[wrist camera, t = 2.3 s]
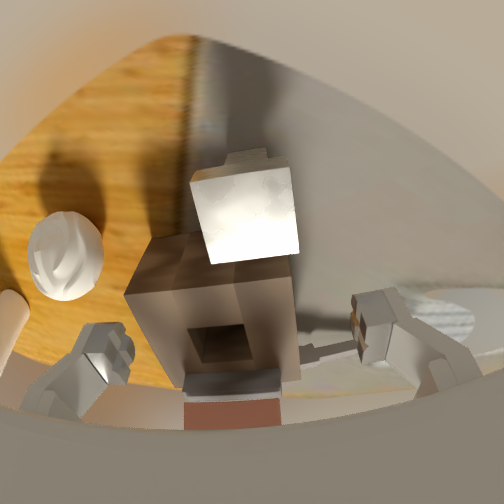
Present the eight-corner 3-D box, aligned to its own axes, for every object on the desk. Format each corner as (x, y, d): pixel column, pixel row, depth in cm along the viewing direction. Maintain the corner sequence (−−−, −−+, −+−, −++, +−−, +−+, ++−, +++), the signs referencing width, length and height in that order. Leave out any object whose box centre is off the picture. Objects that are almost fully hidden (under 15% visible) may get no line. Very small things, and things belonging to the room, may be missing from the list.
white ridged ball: (98, 189, 26) (56, 232, 19) (130, 258, 30) (102, 312, 23) (40, 211, 27) (-3, 253, 20) (71, 271, 31) (39, 319, 24)
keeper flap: (278, 398, 24) (279, 399, 25) (184, 402, 24) (188, 404, 25) (285, 501, 19) (286, 499, 19) (186, 500, 19) (190, 499, 20)
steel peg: (278, 131, 23) (289, 166, 16) (286, 192, 26) (299, 252, 18) (211, 142, 24) (189, 182, 16) (224, 201, 26) (211, 263, 19)
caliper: (252, 341, 36) (251, 386, 31) (251, 335, 36) (250, 380, 30) (414, 329, 36) (430, 367, 30) (416, 323, 35) (433, 361, 30)
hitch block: (282, 219, 27) (294, 296, 19) (294, 319, 34) (303, 398, 25) (151, 238, 28) (114, 314, 20) (187, 329, 35) (172, 405, 26)
